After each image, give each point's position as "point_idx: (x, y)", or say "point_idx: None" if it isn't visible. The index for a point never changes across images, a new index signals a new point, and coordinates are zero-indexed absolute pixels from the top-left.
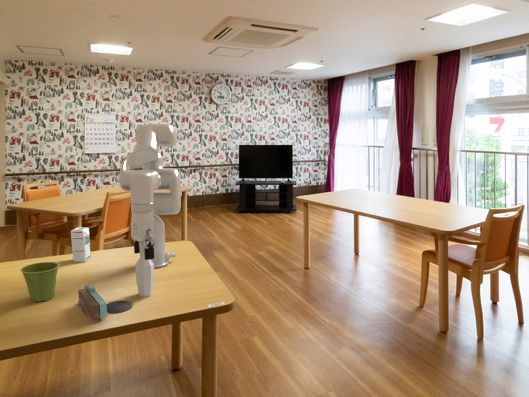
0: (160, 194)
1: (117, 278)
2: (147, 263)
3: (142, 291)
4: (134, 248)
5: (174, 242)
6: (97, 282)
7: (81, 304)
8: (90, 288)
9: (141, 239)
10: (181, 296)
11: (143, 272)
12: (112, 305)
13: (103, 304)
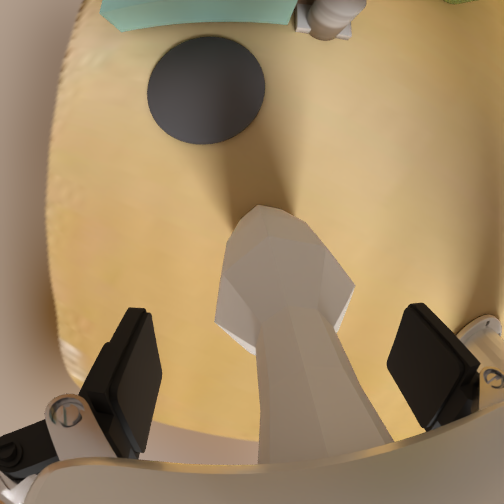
0: None
1: (471, 215)
2: (229, 317)
3: (245, 217)
4: (438, 327)
5: None
6: (480, 145)
7: None
8: None
9: (29, 497)
10: (164, 328)
11: (226, 256)
12: (226, 71)
13: (104, 4)
